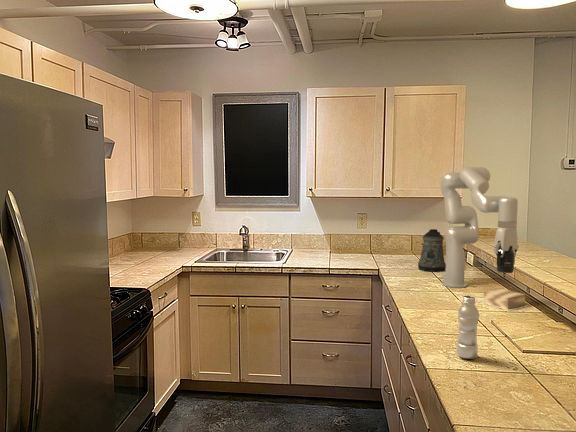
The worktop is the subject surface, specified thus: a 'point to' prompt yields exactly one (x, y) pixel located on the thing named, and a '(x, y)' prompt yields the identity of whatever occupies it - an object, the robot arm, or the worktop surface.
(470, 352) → the plastic bottle
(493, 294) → the oak plinth
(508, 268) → the supplement bottle
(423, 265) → the dark grey bell
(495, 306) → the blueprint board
